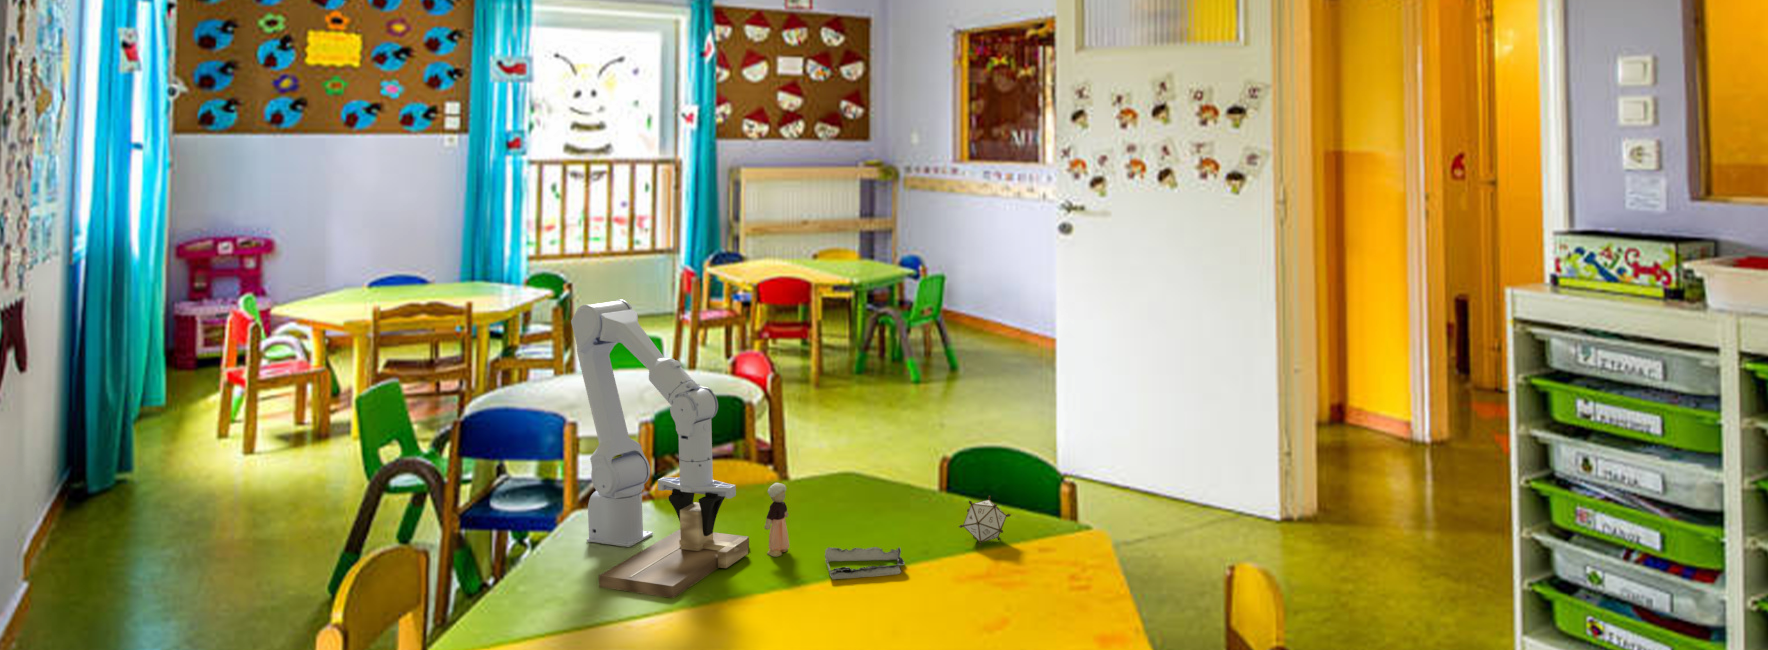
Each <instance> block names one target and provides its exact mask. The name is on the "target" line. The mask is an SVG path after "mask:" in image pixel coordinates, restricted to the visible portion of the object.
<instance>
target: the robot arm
mask: <svg viewBox="0 0 1768 650" xmlns="http://www.w3.org/2000/svg"><path fill="white" fill-rule="evenodd" d="M570 323H571V327H572V331H573V335H574V339H575V342H576V353H577V357H578V362H579V366H580V370H581V374H582V379H583V382H584V383H583V384H584V386H585V391H586V396H587V399H588V403H589V408H590V411H591V415H592V420H593V423H594V429H595V431H596V436H597V437H596V438H597V440H598V445H597V447H596V449H595V450H594V451H593V453H592V454H591V456H590V458H589V460H590V464H591V473H590V475H591V476H590V477H591V483H592V486H593V488H594V489H595V491H593V493H592V494H591V495H590V497H589V500H588V504H587V518H588V519H587V520H588V538H586V542H589V543H597V544H605V545H612V546H619V547H626V548H630V547H633V546H634V545H636V544H637V543H638V544H639V542H641V541H644V540H646V539H648V538H649V537H650V536H652V535H653V531H650V530H644V523H643V520H644V519H643V495H642V493H643V490H645V484H646V483H647V482H648V481H649V479H650V476H651V466H650V463H649V460H648V459H647V457H646V456H645V454H644V451H643V449H642V445H641V444H640V443H639V442H638V441H636V440H635V439H633V438H631V437H630V436H629V432H628V429H627V427H628V426H627V424H626V420H625V416H624V411H623V407H622V402H621V400H620V399H621V398H620V395H619V392H618V391H619V390H618V387H617V382H616V379H615V378H616V377H615V374H614V369H613V366H612V362H611V358H610V353H611V352H612V350H613V349H614V347H615V346H616V345H617V344H619V343H620V344H622V345H623V346H624V347H625V348H626V349H627V350H628V351H629V352H630V353H631V354H632V355H633V356H634V357H635V358H637V360H638V361H639V362H640V363H641V364H643V366H644V367H646V369H647V370H648V381H649V382H650V383H651V384H652V385H653V387H654V388H655V389H656V391H658V392H659V393H660V395H661V396H662V397H663V398H664V399H665V401H667V403H668V404H669V406H670V407H669V411H670V416H671V418H672V420H673V421H674V424H675V431H676V433H677V435H678V461H679V462H678V464H679V465H678V467H679V477H671V476H670V477H667V476H663V477H661V478H659V479H657V490H658V491H662V492H664V491H671V494H670V495H669V496H668V501H669V503H670V504H671V506H672V507H673V509H674V511H675V513H676V515H677V518H678V520H679V522H680V510H681V509H683V508H685V507H686V506H688V505H690V504H692V503H694V498H695V494H699V495H704V496H702V497H700V498H699V499H698V503H699V504H700V508H701V512H702V519H703V534H704V536H709V535H710V534H712V533H713V532H714V528H715V523H716V519H717V516H718V513H719V510H720V508H721V506H722V504H723V501H724V499H733V498H734V497H736V495H737V494H736V493H737V491H736V490H737V488H736V487H737V486H736V485H737V484H731V483H727V482H723V481H719V480H715V479H714V477H713V475H714V474H713V444H712V443H713V438H712V433H713V431H712V419H713V418H714V417H716V415H717V413H718V410H719V402H718V398H717V396H716V394H715V393H714V392H713V390H712V388H710V387H707V386H702V385H701V384H700V383H697V382H696V381H695V380H694V379H693V378H692V377H691V376H690V375H689V374H688V373H687V372H686V371H685V369H684V368H683V367H682V364H681V362H680V361H679V360H677V359H676V360H675V358H670V357H669V358H666V357H664V355H663V354H662V353H661V351H660V350H659V348H657V346H656V345H655V343H654V342H653V341H652V339H651V338H650V336H649V335H648V334H647V332H645V329H644V328H643V327H642V326H641V325H640V324H639V314H638V313H637V311H636V310H635V309H633V307H632V306H631V304H630V303H629V302H628V301H626V300H624V299H616V300H614V301H613V300H612V301H606V302H601V303H600V302H599V303H592V304H582V305H580V306H579V307H578V308H577V309H576V311H575V312H574V315H573V316H572V319H571V321H570ZM618 455H621V456H618ZM617 456H618V457H617ZM614 457H615V458H614Z"/></svg>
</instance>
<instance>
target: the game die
mask: <svg viewBox="0 0 1768 650" xmlns="http://www.w3.org/2000/svg"><path fill="white" fill-rule="evenodd" d="M991 498H992V497H991V495H988V496H987V499H986V500H982V501H977V502H974V503H973V501H971V500H968V504H970V506H969V508H968V509H966V512H967V514H966V516H965V519H964V521H963V524H960V525H958V528H964V529H965V530H966V531H967V532H968V533H970V535H972V537H973V538H975V539H976V540H977V542H979V543H978V546H979V547H981V546H982V543H983V542H987V541H991V540H995V539H997V541H999V542H1001V539H1002V538H1001V537H1000V535H1001V534H1002V533H1004V531H1003V526H1004V524H1005V523H1006V519H1007V517H1009V518H1010V517H1011V516H1012V514H1010V513H1007V514H1006V513H1005V512H1004V511H1002V510H1001V508H999V507H998V505H997V503H994V502H993V501H991Z"/></svg>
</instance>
